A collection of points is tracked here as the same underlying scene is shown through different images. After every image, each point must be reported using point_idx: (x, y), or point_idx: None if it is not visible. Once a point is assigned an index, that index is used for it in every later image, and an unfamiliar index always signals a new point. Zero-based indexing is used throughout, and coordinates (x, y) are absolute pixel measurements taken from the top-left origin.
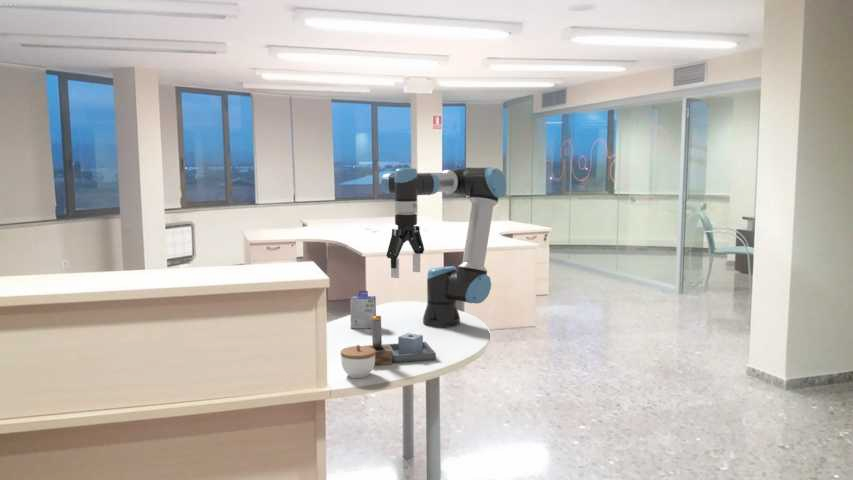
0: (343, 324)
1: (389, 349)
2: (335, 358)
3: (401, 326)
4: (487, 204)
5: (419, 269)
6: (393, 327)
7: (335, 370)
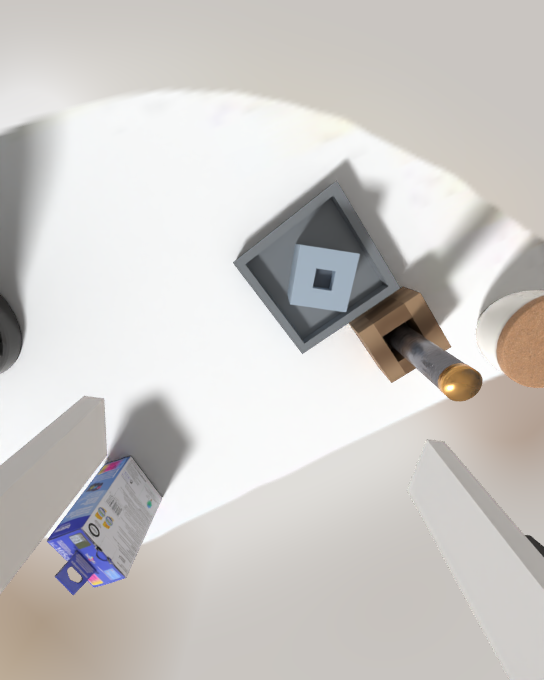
0: None
1: (408, 304)
2: (392, 422)
3: None
4: None
5: (83, 412)
6: None
7: None
